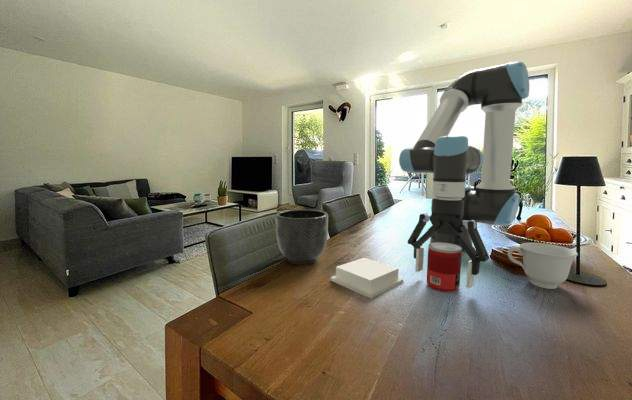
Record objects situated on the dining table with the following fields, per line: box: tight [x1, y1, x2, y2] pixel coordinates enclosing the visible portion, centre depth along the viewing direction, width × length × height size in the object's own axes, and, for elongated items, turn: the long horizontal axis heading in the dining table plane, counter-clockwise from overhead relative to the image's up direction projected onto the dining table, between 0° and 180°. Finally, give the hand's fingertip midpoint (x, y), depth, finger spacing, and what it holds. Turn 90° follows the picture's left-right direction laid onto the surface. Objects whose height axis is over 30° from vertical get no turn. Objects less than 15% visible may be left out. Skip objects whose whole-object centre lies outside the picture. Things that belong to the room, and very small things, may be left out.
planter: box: [275, 209, 329, 266], centre depth 95 cm, size 17×17×16 cm
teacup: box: [507, 242, 579, 290], centre depth 77 cm, size 12×15×10 cm
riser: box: [330, 257, 404, 299], centre depth 79 cm, size 14×14×4 cm
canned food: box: [426, 242, 463, 293], centre depth 75 cm, size 8×8×11 cm
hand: (442, 277), depth 76 cm, fingers open, 13 cm apart
